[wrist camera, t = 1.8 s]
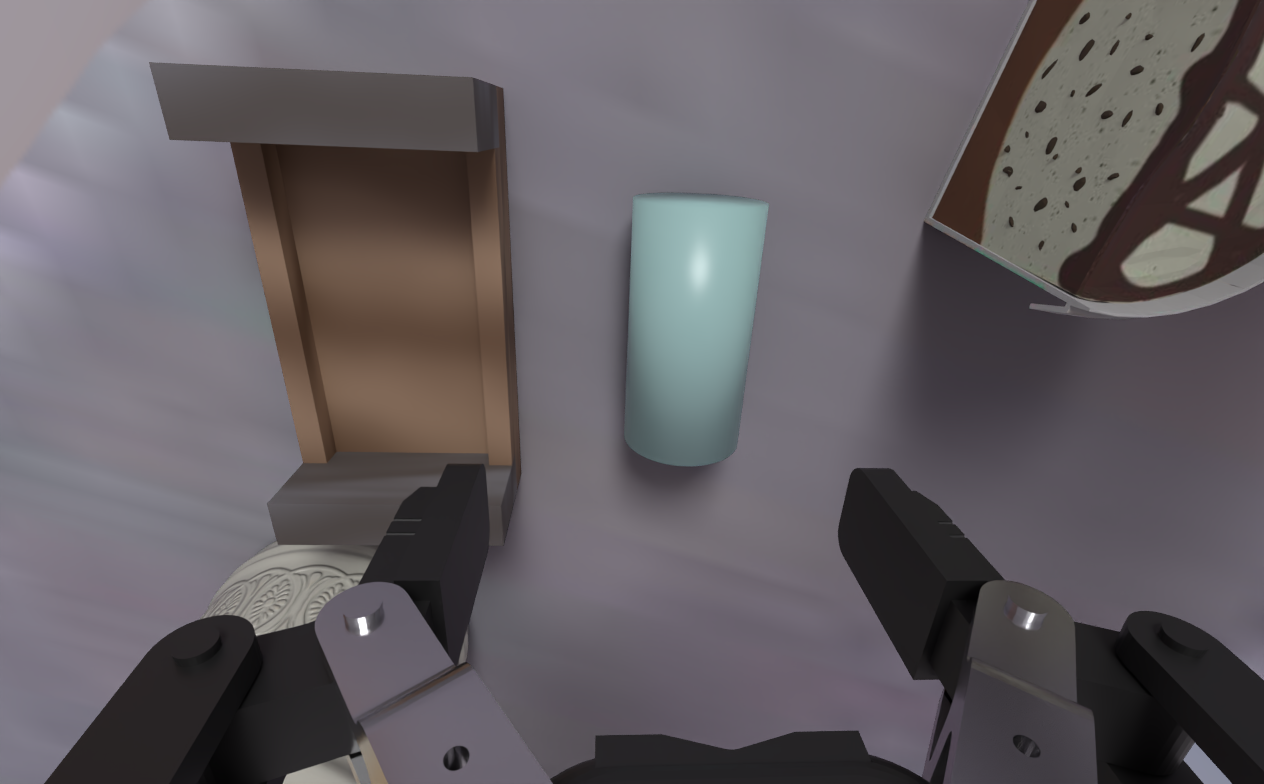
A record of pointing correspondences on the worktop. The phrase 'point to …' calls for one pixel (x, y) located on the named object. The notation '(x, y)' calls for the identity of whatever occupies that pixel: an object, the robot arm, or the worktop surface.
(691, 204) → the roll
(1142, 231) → the food container
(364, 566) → the jar
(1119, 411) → the worktop surface
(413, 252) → the holder
